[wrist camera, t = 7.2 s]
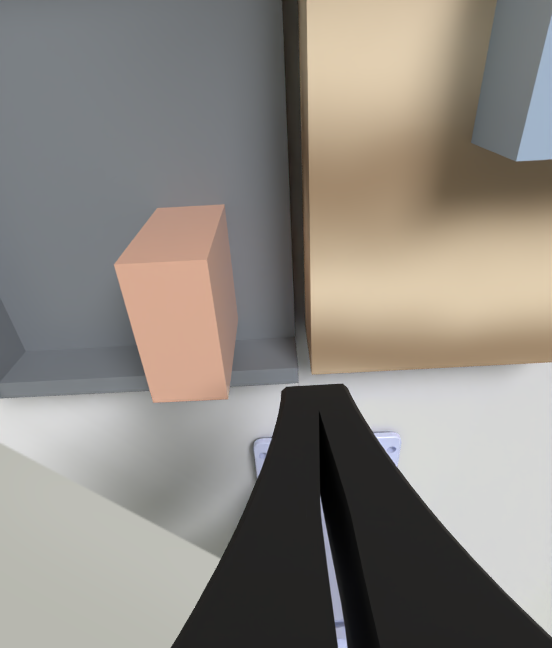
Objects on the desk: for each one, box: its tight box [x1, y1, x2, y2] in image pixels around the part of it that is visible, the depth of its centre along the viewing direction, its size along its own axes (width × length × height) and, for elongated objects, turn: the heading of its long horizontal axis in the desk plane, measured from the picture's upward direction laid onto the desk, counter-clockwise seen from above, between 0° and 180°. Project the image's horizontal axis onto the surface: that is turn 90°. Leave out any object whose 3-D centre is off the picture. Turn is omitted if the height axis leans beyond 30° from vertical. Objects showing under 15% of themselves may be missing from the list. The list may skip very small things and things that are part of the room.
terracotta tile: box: [114, 204, 238, 403], centre depth 14 cm, size 5×5×2 cm
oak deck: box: [298, 0, 552, 375], centre depth 13 cm, size 14×12×4 cm
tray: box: [0, 0, 298, 398], centre depth 14 cm, size 16×13×3 cm
